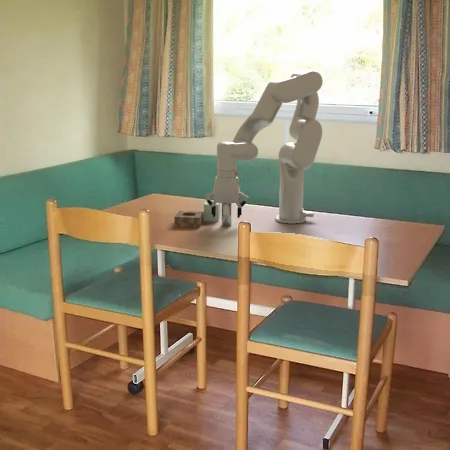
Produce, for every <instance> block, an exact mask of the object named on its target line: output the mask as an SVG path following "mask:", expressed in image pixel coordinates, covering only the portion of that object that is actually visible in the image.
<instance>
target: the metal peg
mask: <svg viewBox="0 0 450 450" xmlns="http://www.w3.org/2000/svg"><path fill="white" fill-rule="evenodd" d="M221 226H222V227H226V228H229V227H232V203H221Z"/></svg>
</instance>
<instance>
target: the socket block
mask: <svg viewBox="0 0 450 450" xmlns="http://www.w3.org/2000/svg"><path fill="white" fill-rule="evenodd" d="M204 222H205V221H204V211H197V210H196V211H195V210H193V211H192V210H178V212H177V213H176V215H175V216H174V227H175V228H198V229H199V228H201V227H202V224H203V223H204Z"/></svg>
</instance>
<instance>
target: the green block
mask: <svg viewBox="0 0 450 450" xmlns="http://www.w3.org/2000/svg"><path fill="white" fill-rule="evenodd" d="M211 201H212V202H213V201H214V200H211ZM215 206H216V216H215V217H213V215H212V207H211V206H210V205H209V204H208V203H207V201H206V200H205V201H204V203H203V212H204V221H203V222H220V220H221V203H216V204H215Z"/></svg>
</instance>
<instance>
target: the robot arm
mask: <svg viewBox="0 0 450 450" xmlns="http://www.w3.org/2000/svg"><path fill="white" fill-rule="evenodd" d="M323 81H324V80H323V77H322V75H321V73H319V72H318V71H316V70H312V69H298V70H295V71H293V72H292V74H291V76H290V78H287V79H286V78H285V79H278V78H277V79H276V78H275V79H272V80H270V81H269V82H268V83H267V85H266V87H265V89H264V90H263V92H262V94H261V96H260V98H259V100H258V102H257V103H256V106H255V107H254V109H253V111H252V113H250V115H249V116H248V117H247V118H246V120H245V121H244V122H243V123H242V124H241V125H240V127H239V128H238V130H237V132H236V134H235V135H234V138H233V140H232V141H221V142H218V143H217V144H216V176H215V178H214V183H213V184H214V185H213V190H212V191H211V192H209V193H207V194H205V195H204V199H205V202H206V201H207V203H208V204H209V205H210V206H211V207H212V215H213V217H215V216H216V206H215V204H216V203H220V204H222V203H231V204H236V206H237V218H238V219H239V218H240V217H241V216H242V208H243V207H244V206H245V205H246V204H247V202H248V200H249V198H250V196H249V195H246V194H245V193H243V192H241V191H240V190H241V188H240V186H241V185H240V179H239V177H238V176H239V175H241V171H240V170H237V161H238V162H239V161H242V162H251V161H253V160H255V159H256V158H257V157H258V156H259V155H258V154H259V149H258V147H257V145H256V144H255V143H253V140H254V139H255V137H256V136H257V135H258V134H259V133H260V132H261V131H263V130H264V129H265V128H267V127H269V126H271V124H273V122H274V121H275V118H276V117H277V114H278V113H279V110H280V108H281V107H282V105H283V104H288V103H292V102H295V101H297V102H296V106H295V110H294V112H293V116H292V119H291V122H290V125H289V129H288V130H289V136H291V138H293V139H294V140H296V142H286V143H285V144H283V145H282V146H281V147H280V149H279V151H278V166H279V198H278V199H279V200H278V202H279V203H278V205H279V206H278V214H277V215H276V216H274V220H275V221H276V222H278V223H281V224H287V223H288V224H289V225H290V224H293V225H294V224H296V223H297V224H302V223H305V222H306V221H307V218H314V217H315V216H314V212H313V211H305V210H304V208H303V206H304V202H303V201H304V181H305V180H304V179H305V178H304V177H305V175H304V171H306V170H308V169H310V168H311V166H312V165H313V164H314V162H315V159H316V156H317V154H318V151H319V147H320V144H321V141H322V137H323V127H322V124H321V123H320V122H319V120H317V119H316V118H317V117H316V116H317V113H318V109H319V106H320V105H319V103H320V100H319V99H320V98H319V94H318V91H320V89H321V88H322V86H323ZM210 197H213V200H211V199H210ZM241 198H243V200H242V202H241V201H240V199H241ZM212 201H213V202H212Z"/></svg>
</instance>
